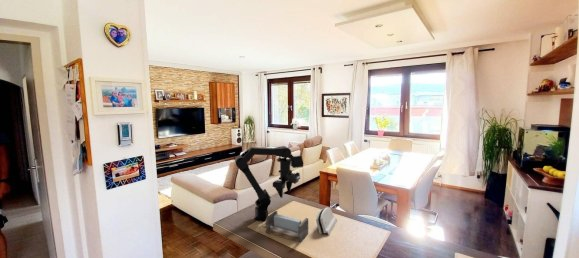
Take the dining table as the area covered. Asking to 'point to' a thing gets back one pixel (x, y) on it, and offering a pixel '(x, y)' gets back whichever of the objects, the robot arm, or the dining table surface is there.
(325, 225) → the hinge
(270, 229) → the grey open box
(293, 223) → the door panel
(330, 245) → the dining table surface
